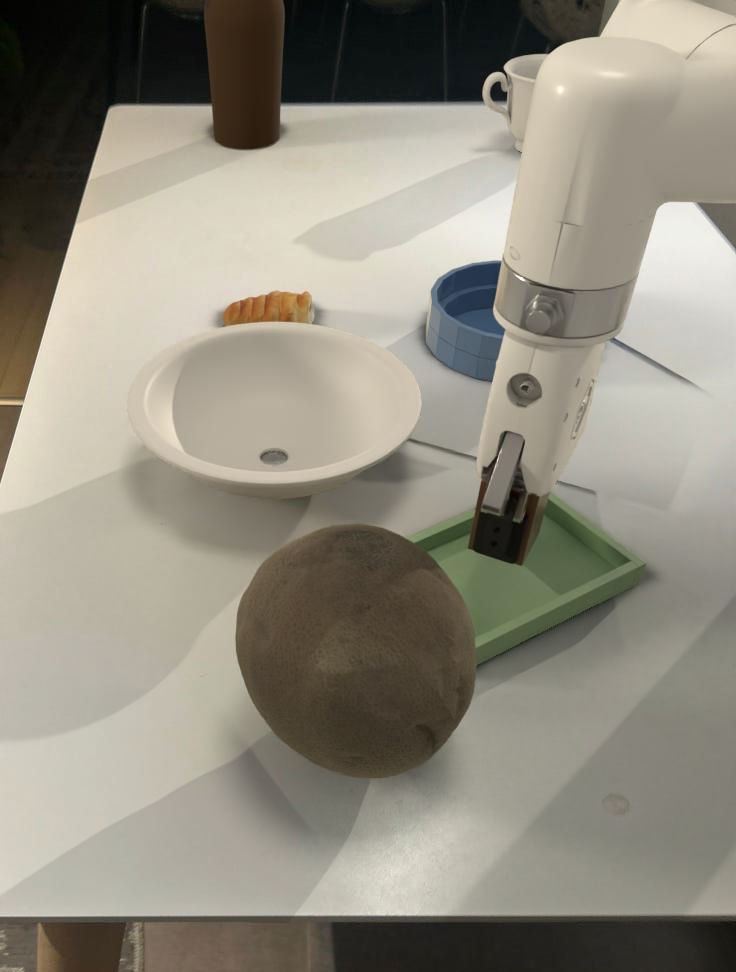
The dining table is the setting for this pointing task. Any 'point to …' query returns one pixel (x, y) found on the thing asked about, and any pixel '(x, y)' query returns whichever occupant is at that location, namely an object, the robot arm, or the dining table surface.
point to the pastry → (271, 309)
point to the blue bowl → (466, 319)
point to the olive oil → (245, 70)
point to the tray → (532, 575)
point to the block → (533, 511)
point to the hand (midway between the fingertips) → (506, 534)
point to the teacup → (515, 92)
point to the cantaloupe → (357, 650)
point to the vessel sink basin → (274, 407)
